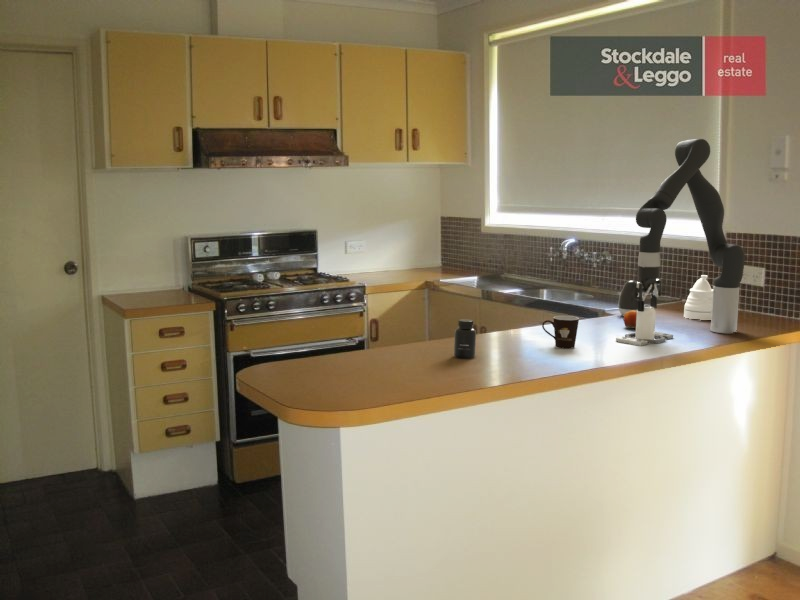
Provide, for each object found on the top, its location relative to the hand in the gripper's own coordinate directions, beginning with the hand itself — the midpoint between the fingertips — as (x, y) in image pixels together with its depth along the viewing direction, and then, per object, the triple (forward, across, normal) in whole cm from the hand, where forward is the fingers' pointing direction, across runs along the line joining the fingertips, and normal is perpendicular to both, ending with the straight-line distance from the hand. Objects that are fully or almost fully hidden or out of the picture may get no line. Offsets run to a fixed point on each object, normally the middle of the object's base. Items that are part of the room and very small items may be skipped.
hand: (647, 309), depth 301 cm
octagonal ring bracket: (+11, 0, 0) cm, 11 cm away
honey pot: (+12, -59, -10) cm, 61 cm away
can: (+11, +1, 0) cm, 11 cm away
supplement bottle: (+10, +70, -24) cm, 75 cm away
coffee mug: (+11, +32, -13) cm, 36 cm away
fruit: (+11, -17, -15) cm, 25 cm away
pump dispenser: (+11, -40, -31) cm, 52 cm away
